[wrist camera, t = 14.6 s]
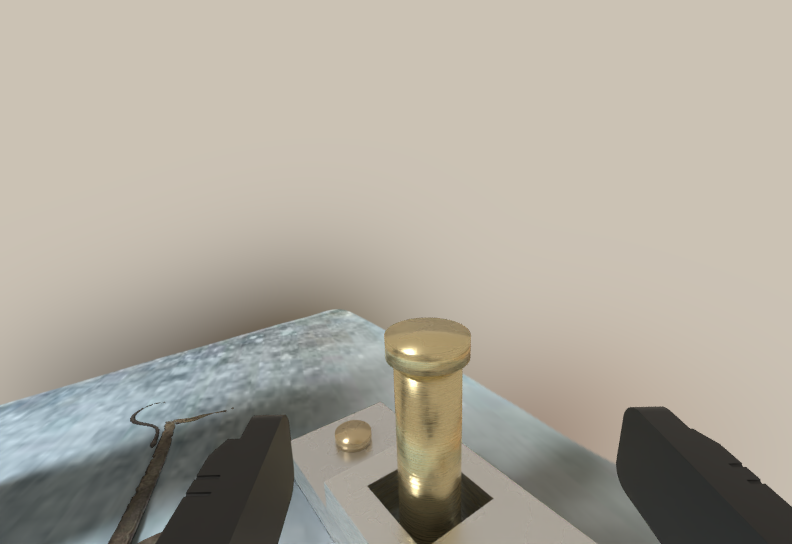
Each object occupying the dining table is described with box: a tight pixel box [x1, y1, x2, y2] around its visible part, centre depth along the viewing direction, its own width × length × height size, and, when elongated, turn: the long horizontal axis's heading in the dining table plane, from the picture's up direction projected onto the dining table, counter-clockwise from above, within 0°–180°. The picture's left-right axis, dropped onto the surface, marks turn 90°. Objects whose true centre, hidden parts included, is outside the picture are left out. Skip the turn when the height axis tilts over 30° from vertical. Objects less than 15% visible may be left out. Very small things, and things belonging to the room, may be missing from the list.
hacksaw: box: [108, 402, 234, 544], centre depth 30 cm, size 24×10×2 cm, turn 13°
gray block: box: [291, 402, 597, 544], centre depth 23 cm, size 24×9×5 cm, turn 36°
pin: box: [384, 318, 471, 544], centre depth 22 cm, size 4×4×14 cm
